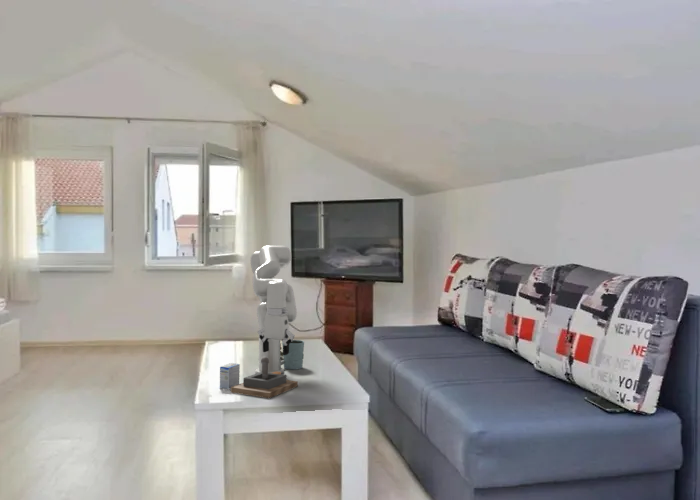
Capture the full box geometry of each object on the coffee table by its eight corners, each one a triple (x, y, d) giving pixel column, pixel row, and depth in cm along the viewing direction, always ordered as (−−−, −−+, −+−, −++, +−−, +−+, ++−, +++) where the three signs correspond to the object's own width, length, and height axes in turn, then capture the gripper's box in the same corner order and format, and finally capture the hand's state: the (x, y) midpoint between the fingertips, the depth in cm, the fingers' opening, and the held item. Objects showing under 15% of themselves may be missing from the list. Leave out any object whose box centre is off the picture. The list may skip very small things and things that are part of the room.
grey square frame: (266, 377, 244) (266, 370, 244) (290, 380, 239) (290, 373, 239) (243, 385, 230) (243, 378, 230) (268, 389, 225) (268, 381, 225)
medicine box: (230, 383, 242) (230, 362, 241) (239, 384, 240) (239, 363, 240) (219, 388, 234) (219, 366, 234) (229, 389, 233) (229, 367, 232)
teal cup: (300, 370, 266) (300, 343, 266) (278, 368, 268) (279, 342, 268) (306, 365, 276) (306, 340, 276) (285, 364, 278) (286, 339, 278)
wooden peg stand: (260, 381, 246) (261, 350, 246) (297, 386, 238) (297, 354, 238) (230, 392, 228) (230, 359, 228) (269, 398, 220) (269, 364, 220)
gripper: (299, 312, 239) (298, 353, 240) (263, 308, 247) (263, 348, 248) (289, 315, 232) (288, 357, 233) (253, 310, 240) (252, 352, 241)
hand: (275, 353), depth 241 cm, fingers open, 9 cm apart
